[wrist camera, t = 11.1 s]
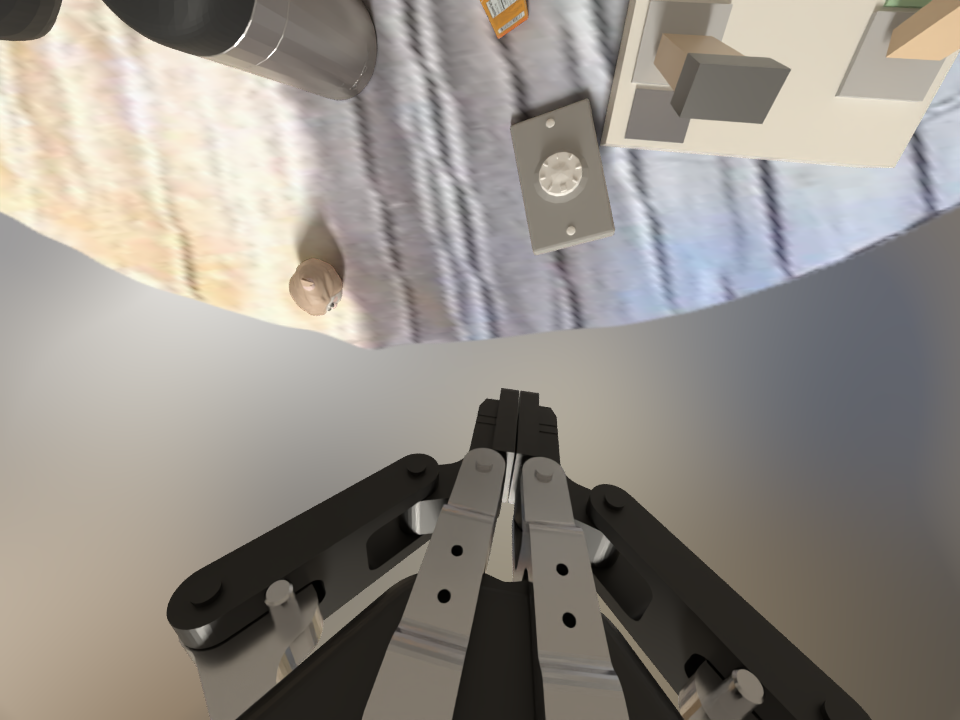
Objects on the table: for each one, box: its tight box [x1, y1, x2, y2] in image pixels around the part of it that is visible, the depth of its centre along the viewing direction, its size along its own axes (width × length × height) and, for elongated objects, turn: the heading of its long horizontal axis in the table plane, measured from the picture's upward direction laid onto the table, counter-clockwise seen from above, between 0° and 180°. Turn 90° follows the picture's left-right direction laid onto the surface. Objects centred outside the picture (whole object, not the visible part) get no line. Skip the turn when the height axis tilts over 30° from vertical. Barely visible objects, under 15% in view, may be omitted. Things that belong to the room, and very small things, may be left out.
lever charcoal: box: [654, 33, 791, 124], centre depth 24 cm, size 2×4×14 cm, turn 85°
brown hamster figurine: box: [289, 258, 343, 316], centre depth 44 cm, size 7×6×8 cm
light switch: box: [510, 99, 615, 255], centre depth 36 cm, size 8×5×13 cm
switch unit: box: [600, 0, 960, 168], centre depth 30 cm, size 14×24×4 cm, turn 86°
